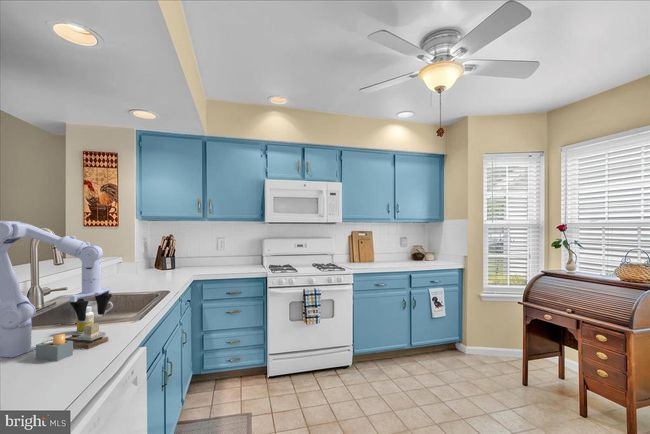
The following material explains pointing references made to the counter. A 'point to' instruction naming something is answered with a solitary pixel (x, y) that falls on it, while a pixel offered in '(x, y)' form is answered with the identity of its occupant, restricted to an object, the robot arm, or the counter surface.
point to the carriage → (91, 332)
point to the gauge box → (53, 350)
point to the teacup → (94, 309)
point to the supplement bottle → (87, 321)
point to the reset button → (59, 339)
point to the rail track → (86, 342)
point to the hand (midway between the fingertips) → (91, 317)
